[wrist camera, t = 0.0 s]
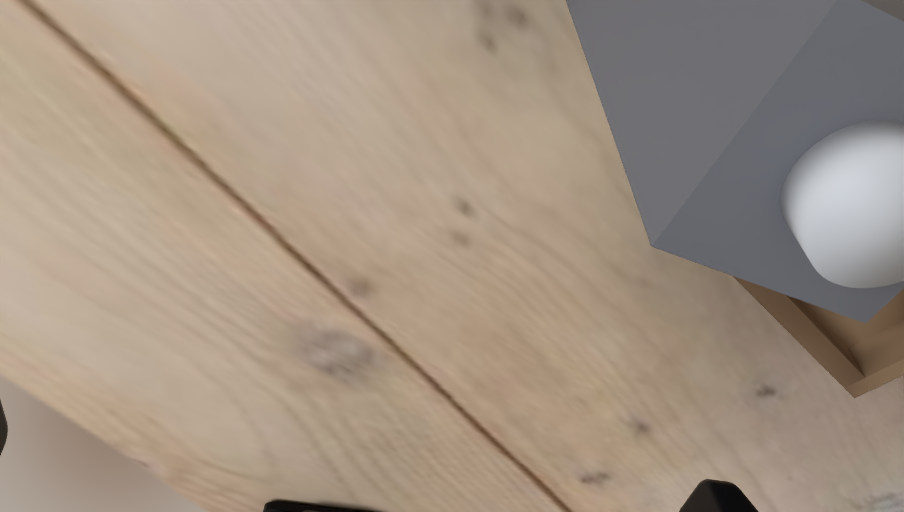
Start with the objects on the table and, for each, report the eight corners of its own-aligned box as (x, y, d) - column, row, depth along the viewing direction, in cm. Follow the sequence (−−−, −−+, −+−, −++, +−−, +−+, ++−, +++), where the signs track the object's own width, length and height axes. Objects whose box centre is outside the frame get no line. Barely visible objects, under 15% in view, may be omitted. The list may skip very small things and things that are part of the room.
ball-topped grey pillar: (681, 36, 21) (896, 370, 11) (559, -18, 20) (667, 292, 10) (769, -103, 18) (1151, 155, 8) (636, -172, 18) (884, 23, 7)
